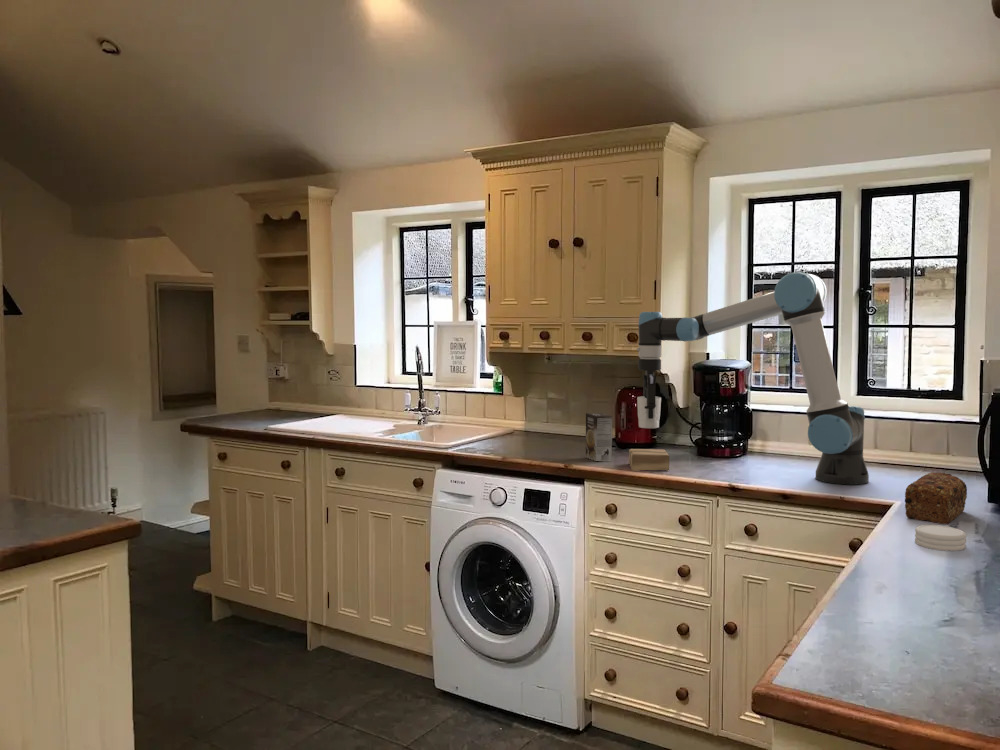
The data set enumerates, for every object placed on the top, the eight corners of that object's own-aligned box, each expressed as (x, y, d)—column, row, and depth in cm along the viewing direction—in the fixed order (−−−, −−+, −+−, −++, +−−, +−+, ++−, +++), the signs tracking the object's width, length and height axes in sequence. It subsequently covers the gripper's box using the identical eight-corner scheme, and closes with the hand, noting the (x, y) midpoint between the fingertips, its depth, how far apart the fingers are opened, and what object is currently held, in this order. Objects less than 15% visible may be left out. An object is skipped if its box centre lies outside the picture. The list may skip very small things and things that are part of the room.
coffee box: (584, 457, 290) (585, 413, 289) (601, 456, 292) (601, 412, 291) (595, 462, 281) (595, 416, 280) (612, 461, 283) (612, 415, 282)
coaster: (969, 554, 173) (970, 538, 173) (917, 549, 176) (918, 533, 176) (961, 541, 182) (961, 526, 182) (911, 537, 186) (912, 522, 186)
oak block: (669, 470, 265) (669, 455, 265) (632, 470, 266) (632, 454, 266) (664, 464, 277) (664, 449, 277) (628, 463, 278) (629, 448, 278)
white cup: (660, 429, 266) (661, 398, 265) (636, 428, 268) (636, 398, 267) (660, 425, 274) (661, 396, 273) (637, 425, 275) (637, 395, 275)
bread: (923, 505, 217) (925, 468, 216) (968, 512, 209) (970, 474, 209) (902, 518, 203) (903, 479, 202) (949, 526, 196) (950, 485, 195)
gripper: (635, 356, 279) (634, 422, 281) (641, 359, 259) (640, 430, 261) (657, 356, 279) (656, 422, 281) (665, 359, 259) (664, 430, 260)
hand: (648, 426), depth 271 cm, fingers closed on white cup, 7 cm apart
